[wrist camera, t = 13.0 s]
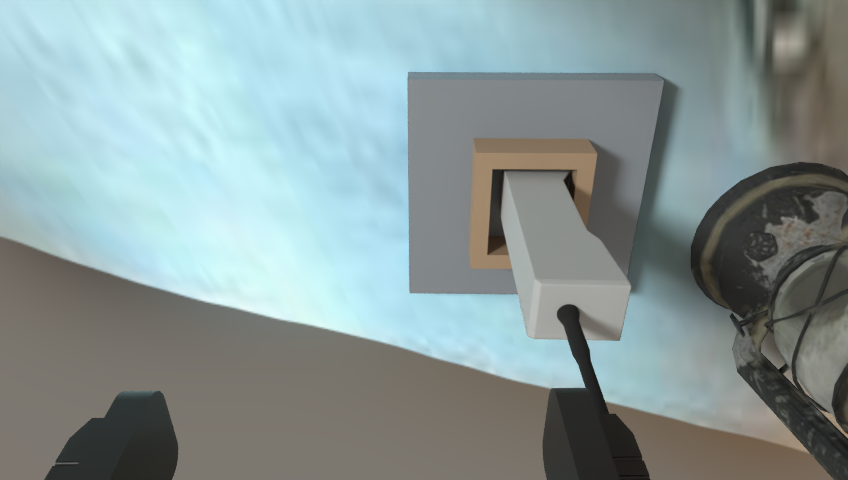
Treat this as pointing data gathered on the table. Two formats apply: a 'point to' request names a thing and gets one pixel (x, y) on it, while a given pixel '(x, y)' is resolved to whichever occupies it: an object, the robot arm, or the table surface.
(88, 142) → the table surface
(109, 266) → the table surface
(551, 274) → the vintage mobile phone
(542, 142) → the square socket base
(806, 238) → the lantern
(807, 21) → the table surface
